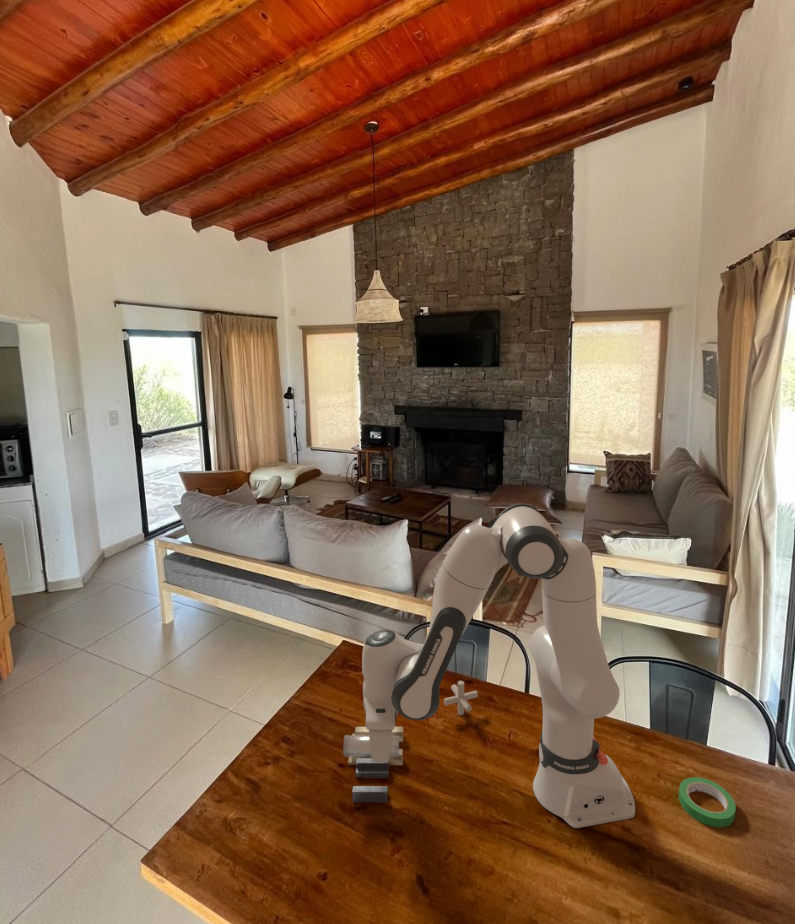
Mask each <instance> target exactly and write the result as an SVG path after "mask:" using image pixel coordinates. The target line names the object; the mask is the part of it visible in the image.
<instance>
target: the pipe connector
mask: <svg viewBox="0 0 795 924" xmlns="http://www.w3.org/2000/svg"><path fill="white" fill-rule="evenodd" d="M450 689H451V691H452V693H453V694H454V695H453V696H450V697H445V698H443V703H444V705H445V706H449V705H453V704H457V714H458V715H459V716H463V715H464V714H465V711H466V712H467V713H468V712H471V710H472V706H471V704H470V703H469V700H472V699H475V698H478V697H479V693H478V691H477V690H473V691H469V692H465V682H464V681H463V680H458V681H457V684H455V683H454V684H452V685H451V687H450Z"/></svg>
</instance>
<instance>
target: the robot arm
mask: <svg viewBox="0 0 795 924" xmlns="http://www.w3.org/2000/svg"><path fill="white" fill-rule="evenodd" d="M506 564H509V565H510V567H511V568H512V569H513V570H514V571H515V572H516V574H517V573H518V575H520V576H522V577H524V578H527V579H536V580H537V579H538V580H539V579H541V597H542V598H541V601H542V602H541V603H542V617H543V618H542V619H543V623H544V624H543V625H541V626H539V627H538V628H537V629H535V630H534V632H533V633H532V635H531V636H530V640H529V650H530V652H531V656H532V657H533V662H534V664H535V668H536V674H537V681H538V686H539V687H538V688H539V691H540V697H541V705H542V731H541V733H540V737H539V746H538V752H539V753H538V755H539V764H538V768H537V771H536V775H535V776H534V779H533V782H532V789H533V790H532V791H533V793H534V795H535V798H536V799H537V801H538V802H539V803H540V805H541V806H543V808H545V810H547V811H549V812H550V813H552V814H554V815H556V816H558V817H559V818H561V819H563V820H564V821H565V823H567V824H568V825H569V826H570V827H572V828H574V829H580V828H584V827H591V826H596V825H597V826H598V825H602V824H607V823H612V822H618V821H624V820H628V819H633V818H634V817H635V816H636V803H635V802H636V801H635V798H634V796H633V793H632V790H631V789H630V786H629V785H628V783H627V781H626V780H625V778H624V777H623V775H622V774H621V773H620V770H619V769H618V766H617V765H616V764H615V762H614V761H613V760H612V758H611V757H609V755H607V754H606V753H605V752H603V751H601V746H600V744H599V742H598V741H597V740H596V738H595V736H594V726H595V719H600V718H604V717H606V716H608V715H609V714H611V713H612V712H613V711H614V710H615V708H616V706H617V705H618V704H619V700H620V693H621V691H620V687H619V685H618V683H617V681H616V678H615V677H614V675H613V673H612V671H611V668H610V666H609V662H608V660H607V656H606V653H605V652H606V651H605V649H604V645H603V641H602V638H601V634H600V631H599V630H600V629H599V625H598V623H599V622H598V612H597V609H598V608H597V582H596V581H597V580H596V572H595V567H594V566H595V565H594V563H593V558H592V553H591V550H590V549H589V547H588V546H587V545H586V544H585V543H584V542H582V541H580V540H578V539H575V538H571V537H570V538H569V537H564V538H563V537H562V538H561V537H558V536H557V534H556V533H555V531H554V529H553V527H552V525H551V524H550V523H549V521H547V519H546V518H545V517H544V514H542V513H541V511H540V510H539V509H537V508H536V507H535V506H532V505H531V504H528V503H523V502H522V503H521V502H519V503H518V502H517V503H513V504H512V505H509V506H508V507H506V508H505V509H503V511H501V512H500V513H499V514H498V515H496V516H495V517H493V518H492V519H491V520H489V523H488V527H487V526H484V525H480V524H472V525H468V526H467V527H465V528H463V530H462V531H461V532H460V533H459V535H458V536H457V538H456V539H455V541H454V542H453V543H452V545H451V547H450V549H449V550H448V552H447V554H446V556H445V557H444V559H443V561H442V564H441V565H440V569H439V570H438V573H437V576H436V580H435V583H434V589H433V593H432V594H433V595H432V605H431V617H430V622H429V628H428V630H427V631H428V632H427V635H426V638H425V640H424V642H413V641H410V640H408V639H406V638H403V637H401V636H400V635H399V634H398V633H396V632H395V631H394V630H391V629H381V630H377V631H374V632H372V633H371V634H370V635H369V636H368V637H367V638H366V639H365V640H364V643H363V646H362V647H363V648H362V654H361V656H362V657H361V659H362V660H361V662H362V663H361V665H362V666H361V667H362V669H361V671H362V676H363V683H362V695H363V697H362V698H363V708H364V713H365V727H366V729H369V740H370V748H371V756H372V760H373V761H374V762H380V763H381V762H388V761H389V758H390V750H391V740H392V731H393V729H395V727H396V723H397V722H396V721H397V716H398V713H399V715H401V716H402V717H403V718H405V719H408V720H410V721H424V720H426V719H429V718H431V717H432V716H434V715H435V714H436V713H437V712H438V709H439V707H440V686H441V682H442V680H443V677H444V675H445V674H446V672H447V669H448V666H449V665H450V662H451V661H452V658H453V655H454V654H455V651H456V649H457V646H458V644H459V642H460V641H461V638H462V636H463V634H464V632H465V631H466V629H467V628H468V625H469V623H470V621H472V618H473V616H474V614H475V613H476V612H477V609H479V606H480V604H481V603H482V602H483V599H484V598H485V596H486V594H487V592H488V590H489V588H490V586H491V585H492V582H493V580H494V578H495V575H496V574H497V572H498V571H499V570H500V569H501V568H503V566H505V565H506Z"/></svg>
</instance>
